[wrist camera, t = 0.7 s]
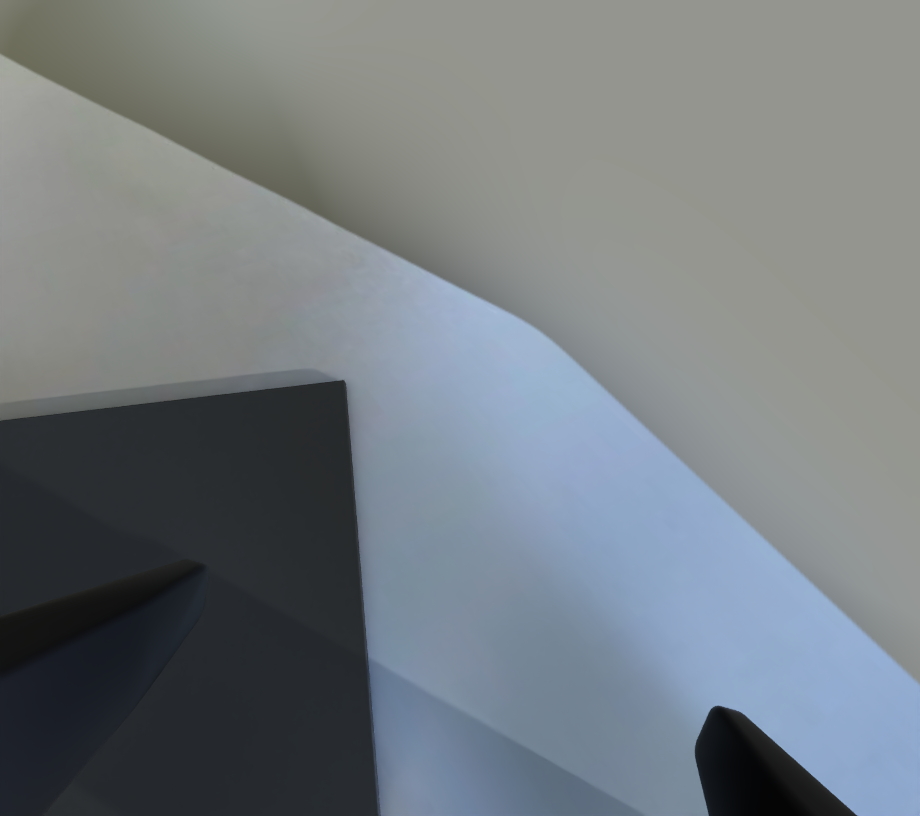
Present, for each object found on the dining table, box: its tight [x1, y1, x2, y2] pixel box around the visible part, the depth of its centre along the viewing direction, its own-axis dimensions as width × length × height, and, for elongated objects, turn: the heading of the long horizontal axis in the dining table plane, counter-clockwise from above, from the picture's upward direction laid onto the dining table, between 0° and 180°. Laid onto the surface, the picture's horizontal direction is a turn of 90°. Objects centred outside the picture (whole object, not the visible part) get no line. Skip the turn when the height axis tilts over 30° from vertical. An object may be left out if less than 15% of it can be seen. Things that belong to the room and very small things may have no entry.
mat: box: [0, 380, 381, 816], centre depth 21 cm, size 20×19×1 cm
